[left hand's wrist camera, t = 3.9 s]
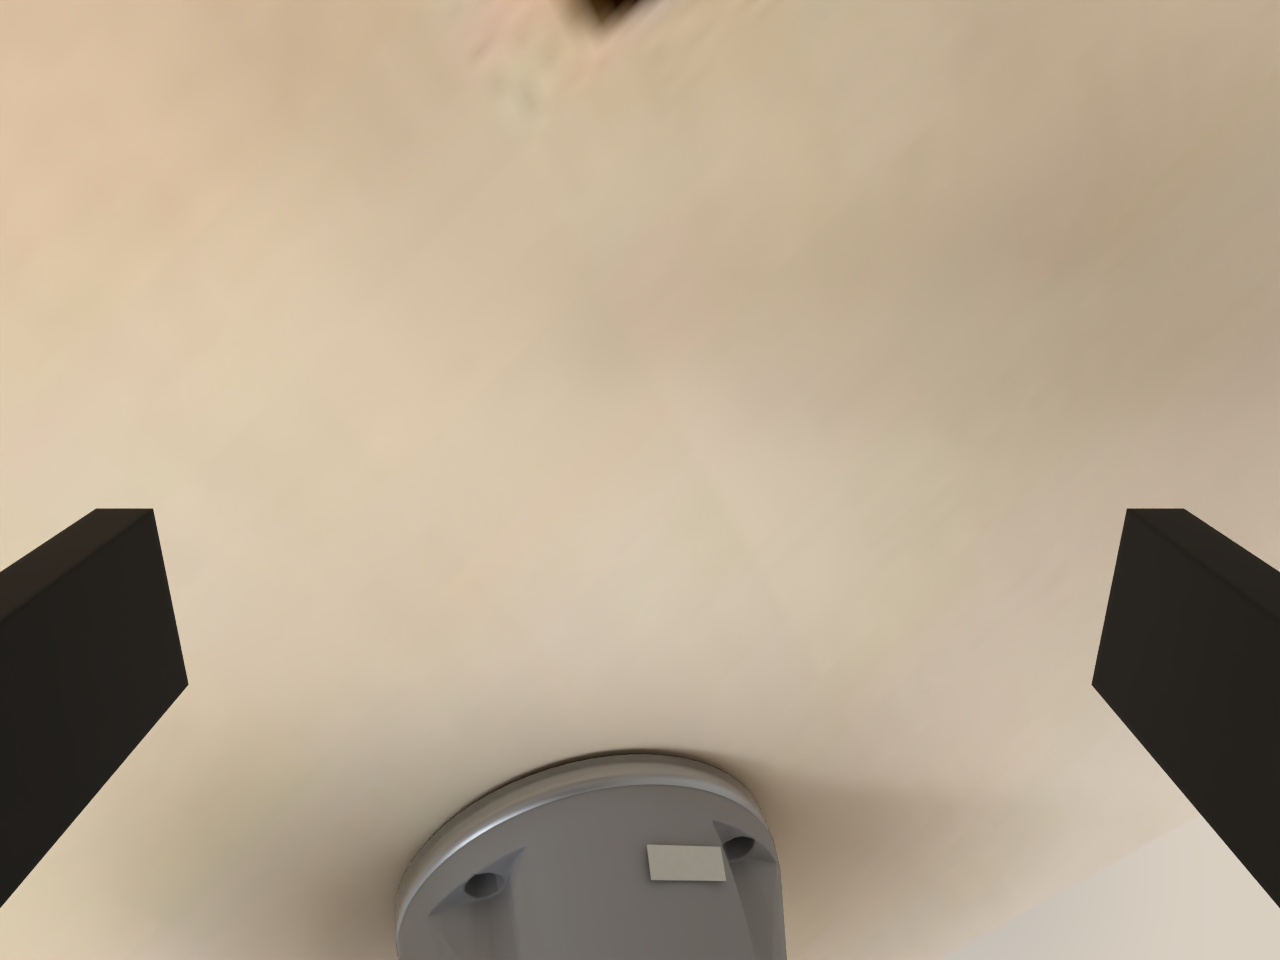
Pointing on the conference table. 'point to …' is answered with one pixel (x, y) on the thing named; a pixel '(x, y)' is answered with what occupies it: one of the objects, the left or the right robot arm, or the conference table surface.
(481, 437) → the conference table surface
